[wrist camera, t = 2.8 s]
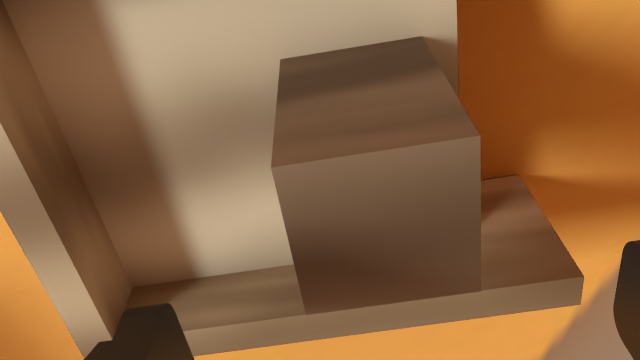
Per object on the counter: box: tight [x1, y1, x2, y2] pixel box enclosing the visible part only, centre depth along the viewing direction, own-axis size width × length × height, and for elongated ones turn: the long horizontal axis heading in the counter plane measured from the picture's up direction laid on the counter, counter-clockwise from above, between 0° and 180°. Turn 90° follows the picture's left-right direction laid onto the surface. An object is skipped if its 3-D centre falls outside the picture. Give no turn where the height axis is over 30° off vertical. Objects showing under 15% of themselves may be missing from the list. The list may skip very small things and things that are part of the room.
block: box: [271, 36, 481, 315], centre depth 14 cm, size 4×4×6 cm
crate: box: [0, 0, 584, 359], centre depth 17 cm, size 13×16×6 cm
